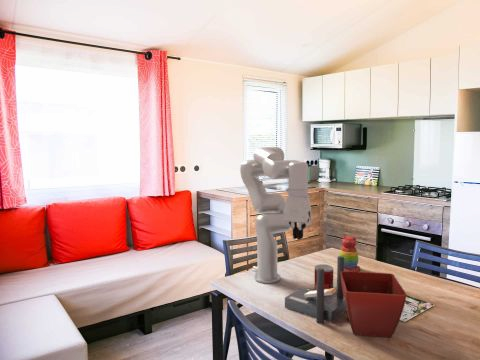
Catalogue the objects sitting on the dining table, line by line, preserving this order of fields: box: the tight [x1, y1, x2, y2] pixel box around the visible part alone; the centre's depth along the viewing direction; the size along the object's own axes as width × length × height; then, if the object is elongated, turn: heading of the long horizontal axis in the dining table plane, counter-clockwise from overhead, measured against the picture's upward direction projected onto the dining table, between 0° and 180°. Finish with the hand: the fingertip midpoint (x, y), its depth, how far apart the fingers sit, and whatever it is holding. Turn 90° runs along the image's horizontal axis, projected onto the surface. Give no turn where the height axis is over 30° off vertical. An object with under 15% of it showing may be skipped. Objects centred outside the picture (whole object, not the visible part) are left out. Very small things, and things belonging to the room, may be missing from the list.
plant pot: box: [340, 271, 408, 338], centre depth 130 cm, size 19×19×17 cm
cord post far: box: [336, 255, 344, 299], centre depth 147 cm, size 3×3×20 cm
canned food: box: [313, 263, 334, 291], centre depth 161 cm, size 8×8×11 cm
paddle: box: [304, 287, 337, 297], centre depth 144 cm, size 12×4×1 cm, turn 50°
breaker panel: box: [284, 287, 347, 324], centre depth 145 cm, size 20×13×6 cm, turn 50°
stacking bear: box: [338, 235, 361, 272], centre depth 186 cm, size 11×10×18 cm
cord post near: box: [315, 268, 325, 325], centre depth 134 cm, size 3×3×20 cm
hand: (297, 238), depth 148 cm, fingers closed
